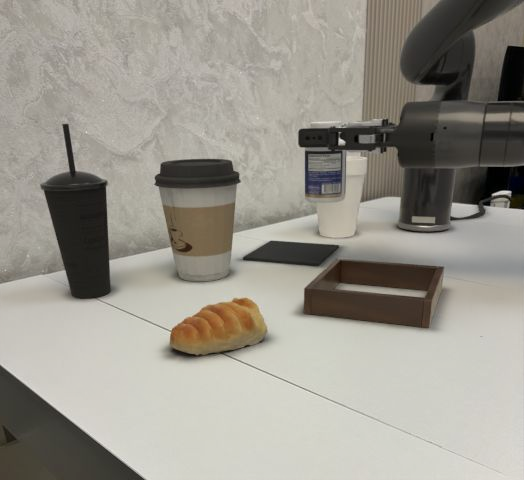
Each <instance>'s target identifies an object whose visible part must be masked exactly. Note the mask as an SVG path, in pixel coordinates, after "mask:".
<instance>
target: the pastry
mask: <svg viewBox="0 0 524 480" xmlns="http://www.w3.org/2000/svg"><path fill="white" fill-rule="evenodd" d="M267 334H268V326H267V323H266V322H265V318H264V316H263V314H262V313H261V311H260V308H259V306H258V304H257V303H256V302H255V301H253V300H252V299H250V298H248V297H241V298H238V297H233V298H232V300H231V301H221V302H217V303H214V304H207V305H206V306H203V307H201V309H200V310H199V311H198V312H196V313H195V314H193V315H191V316H188V317H186V318H184V319H183V320H182V321H181V322H179V323H178V324H177V325H175V326H173V327H172V329H171V330H170V336H169V346H170V347H171V348H173V349H174V350H177V351H180V352H183V353H187V354H191V355H196V357H197V356H199V355H201V356H206V355H208V354H213V353H219V354H221V353H223V352H227V351H235V350H239V349H242V348H244V347H245V346H253V345H257V344H259V343H260V342H261V341H263V340H264V338H265V336H266V335H267Z"/></svg>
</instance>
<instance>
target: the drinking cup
mask: <svg viewBox="0 0 524 480" xmlns="http://www.w3.org/2000/svg"><path fill="white" fill-rule="evenodd" d="M61 126H62V131H63V138H64V144H65V145H64V146H65V150H66V156H67V157H66V158H67V163H68V164H67V165H68V171H64V172H60V173H57V174H55V175H53V176H51V177H50V178H48V179H47V180H46V181H44V182H41V183H40V186H39V187H40V189H41V190H42V191H43V193H44V198H45V201H46V204H47V209H48V211H49V212H48V213H49V216H50V220H51V223H52V226H53V229H54V230H53V231H54V234H55V238H56V242H57V245H58V249H59V252H60V257H61V260H62V264H63V268H64V271H65V274H66V278H67V282H68V286H69V289H70V294H71V296H72V297H73V298H76V299H94V298H100V297H104V296H106V295H108V294H109V293H111V291H112V289H111V267H110V266H111V265H110V264H111V263H110V245H109V243H110V242H109V224H108V222H109V221H108V201H107V186H109V181H108V179H105V178H102V177H100V176H98V175H96V174H94V173H91V172H87V171H82V170H76V164H75V158H74V151H73V145H72V138H71V137H72V136H71V132H70V125H69V123H62V124H61Z"/></svg>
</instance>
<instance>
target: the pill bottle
mask: <svg viewBox="0 0 524 480" xmlns="http://www.w3.org/2000/svg"><path fill="white" fill-rule="evenodd" d="M309 123H310V124H309V128H328V127H331V126H336V127H342V125H343V124H342V121H341V120H331V121H329V120H328V121H327V120H326V121H311V122H309ZM340 133H341V132H339V144H345V141H344V140H342V139H340ZM346 156H347V150H335V151H331V150H328V149H327V147H309V148H304V199H305V201H307V202H309V203H314V204H316V203H333V202H339V201H342V200H344V199H345V188H346Z"/></svg>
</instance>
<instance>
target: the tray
mask: <svg viewBox="0 0 524 480" xmlns="http://www.w3.org/2000/svg"><path fill="white" fill-rule="evenodd" d="M444 273H445V266H440V265H428V264H427V265H426V264H412V263H402V262H401V263H399V262H390V261H389V262H388V261H375V260H362V259H349V258H337V257H336V258H335V259H334V260H332V262H331V263H329V265H327V266H326V267H325V268H324V269H323V270H322V271H321V272H320V273H319V274H317V275H316V277H314V278H313V279H312V280H311V281H310V282H309V283H308V284H307V285H306V286H305V287H304V288H303V314H304V315H305V314H306V315H313V316H323V317H331V318H341V319H349V320H358V321H364V322H365V321H366V322H375V323H383V324H392V325H401V326H409V327H417V328H427V329H429V328H430V326H431V323H432V320H433V317H434V314H435V311H436V308H437V305H438V303H439V299H440V296H441V293H442V291H443V283H444ZM340 283H343V284H353V285H364V286H374V287H375V286H376V287H388V288H397V289H407V290H419V291H427V292H426V295H425V297H422V296H411V295H401V294H392V293H391V294H390V293H383V292H381V293H380V292H372V291H371V292H370V291H359V290H350V289H349V290H348V289H339V288H337V286H338V285H339V284H340Z"/></svg>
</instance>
